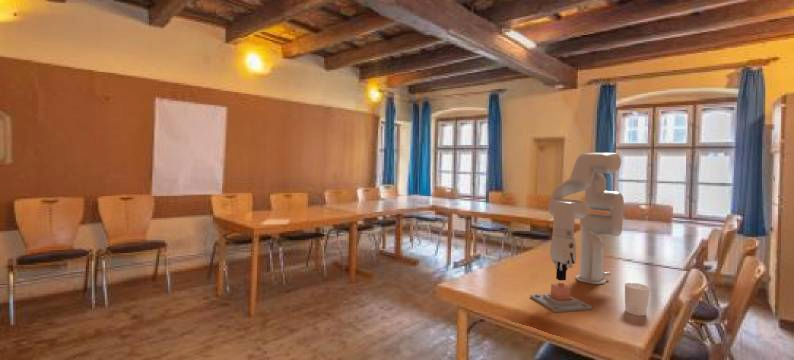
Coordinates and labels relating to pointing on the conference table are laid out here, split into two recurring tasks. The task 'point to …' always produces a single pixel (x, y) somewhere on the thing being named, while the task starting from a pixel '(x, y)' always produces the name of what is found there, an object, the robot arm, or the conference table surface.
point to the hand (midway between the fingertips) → (560, 279)
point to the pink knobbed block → (560, 292)
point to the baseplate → (560, 303)
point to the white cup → (636, 298)
